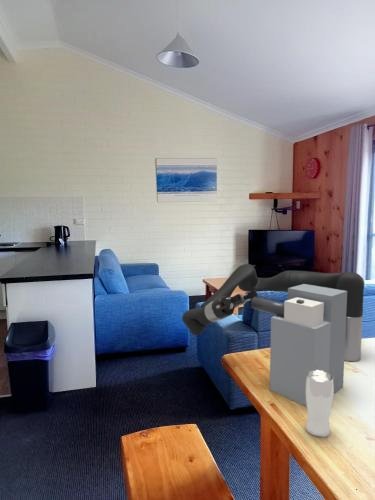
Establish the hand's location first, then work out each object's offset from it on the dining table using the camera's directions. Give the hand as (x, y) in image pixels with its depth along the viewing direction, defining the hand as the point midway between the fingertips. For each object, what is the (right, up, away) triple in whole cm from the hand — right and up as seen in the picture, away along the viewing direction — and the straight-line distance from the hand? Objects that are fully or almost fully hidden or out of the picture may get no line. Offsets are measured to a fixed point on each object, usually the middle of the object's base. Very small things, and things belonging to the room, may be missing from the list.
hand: (248, 294), depth 122 cm
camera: (+10, -6, -9) cm, 15 cm away
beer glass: (+13, -32, -29) cm, 45 cm away
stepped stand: (+18, -30, -7) cm, 35 cm away
